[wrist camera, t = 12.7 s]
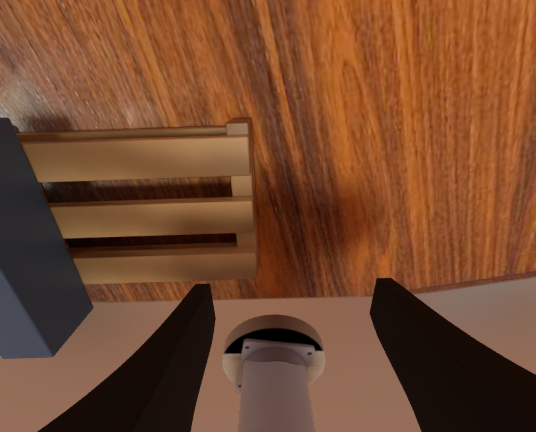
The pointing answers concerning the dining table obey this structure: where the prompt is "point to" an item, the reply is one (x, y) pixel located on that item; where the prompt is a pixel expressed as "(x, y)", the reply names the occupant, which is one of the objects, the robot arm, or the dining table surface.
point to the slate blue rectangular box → (33, 263)
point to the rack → (154, 200)
